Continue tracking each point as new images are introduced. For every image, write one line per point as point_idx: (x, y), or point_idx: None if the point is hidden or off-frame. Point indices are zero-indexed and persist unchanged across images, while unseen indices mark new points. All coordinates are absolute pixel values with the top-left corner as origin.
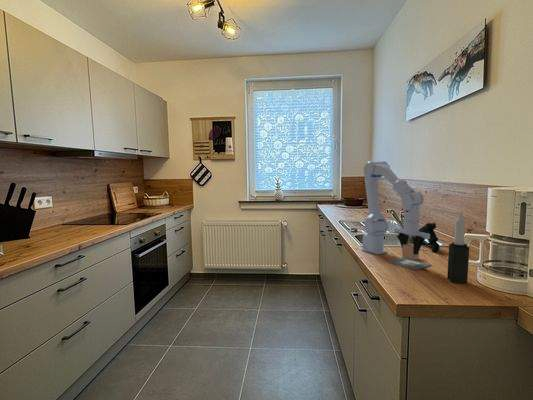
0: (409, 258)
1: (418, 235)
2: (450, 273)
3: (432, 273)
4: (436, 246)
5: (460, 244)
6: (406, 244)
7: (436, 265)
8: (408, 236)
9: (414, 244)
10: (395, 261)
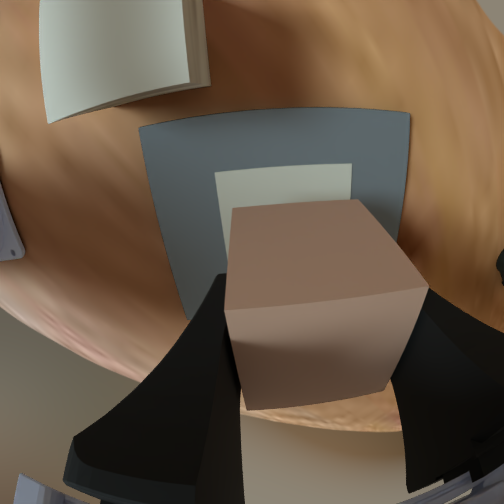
0: (174, 91)
1: (483, 487)
2: None
3: (451, 260)
4: None
5: None
6: (264, 381)
7: (422, 76)
8: (206, 461)
9: (408, 411)
10: (200, 285)
